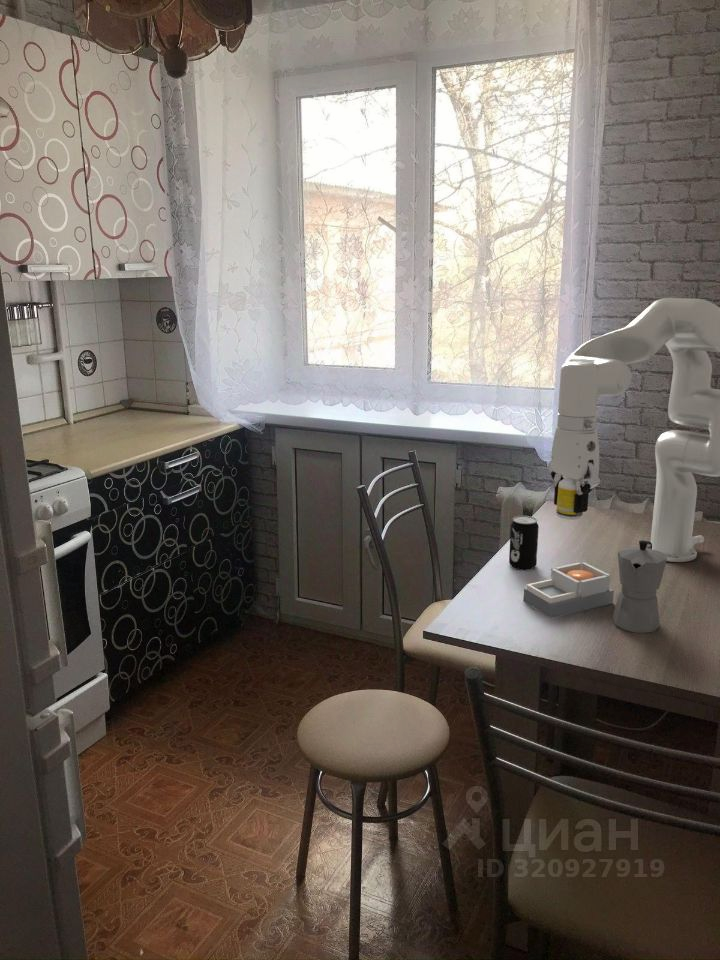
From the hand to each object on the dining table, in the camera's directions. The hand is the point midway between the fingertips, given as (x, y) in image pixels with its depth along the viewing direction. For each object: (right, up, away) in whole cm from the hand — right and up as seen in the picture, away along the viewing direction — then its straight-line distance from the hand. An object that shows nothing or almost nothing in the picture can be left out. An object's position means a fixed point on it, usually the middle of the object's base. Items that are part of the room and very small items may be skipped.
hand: (570, 507), depth 163 cm
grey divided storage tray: (+1, -21, +6) cm, 22 cm away
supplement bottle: (0, -2, +1) cm, 2 cm away
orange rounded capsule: (+4, -20, +8) cm, 22 cm away
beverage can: (-4, -15, +27) cm, 31 cm away
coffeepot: (+13, -24, -3) cm, 27 cm away
